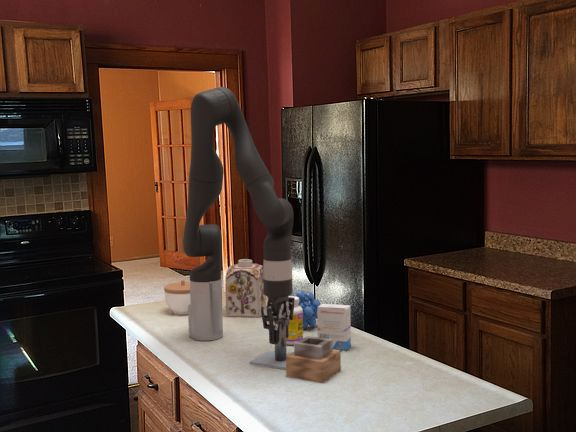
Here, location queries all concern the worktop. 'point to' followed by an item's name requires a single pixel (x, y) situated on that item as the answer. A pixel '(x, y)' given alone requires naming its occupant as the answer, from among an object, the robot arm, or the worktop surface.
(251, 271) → the decorative jar
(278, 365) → the mat
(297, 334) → the supplement bottle
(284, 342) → the chuck key
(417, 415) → the worktop surface
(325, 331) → the ink box
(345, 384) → the worktop surface
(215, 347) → the worktop surface
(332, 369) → the block
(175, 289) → the lidded bowl
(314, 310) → the grapes
